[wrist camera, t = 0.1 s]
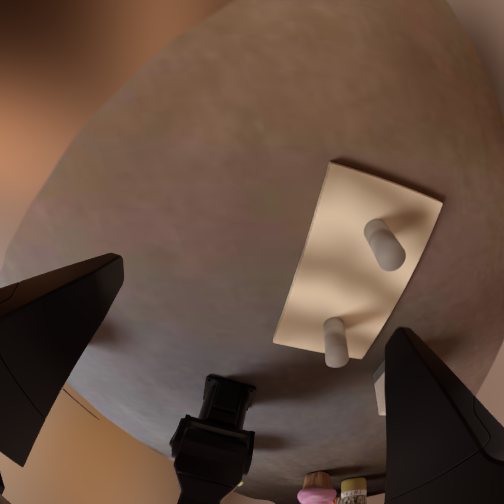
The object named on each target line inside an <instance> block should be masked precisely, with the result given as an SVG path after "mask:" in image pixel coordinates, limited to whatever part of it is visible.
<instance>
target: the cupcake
mask: <svg viewBox="0 0 504 504" xmlns="http://www.w3.org/2000/svg"><path fill="white" fill-rule="evenodd" d="M335 497H336V490H334V489H333V487H332V484H331V479H330V476H329V474H328V473H325V472H322V471H319V472H315V473H309V474H307V475H306V476H305V480H304V485H303V488H302V490H301V491H299V493H298V500H299V501H300V502H301V503H302V504H331V502H332V501H333V500H334V499H335Z"/></svg>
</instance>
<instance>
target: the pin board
mask: <svg viewBox="0 0 504 504" xmlns="http://www.w3.org/2000/svg"><path fill="white" fill-rule="evenodd" d="M442 205H443V203H441V202H440V201H439V200H437V199H435V198H432V197H430V196H427V195H425V194H423V193H420V192H418V191H415V190H413V189H410V188H408V187H405V186H402V185H400V184H397V183H394V182H392V181H389V180H386V179H383V178H381V177H378V176H375V175H372V174H369V173H366V172H363V171H360V170H357V169H354V168H351V167H347V166H344V165H341V164H338V163H334V162H331V161H329V164H328V168H327V172H326V175H325V179H324V182H323V186H322V189H321V193H320V196H319V200H318V203H317V206H316V210H315V213H314V217H313V220H312V223H311V226H310V230H309V233H308V236H307V239H306V242H305V246H304V249H303V252H302V255H301V258H300V261H299V264H298V267H297V270H296V273H295V276H294V279H293V282H292V285H291V288H290V291H289V294H288V297H287V300H286V303H285V306H284V309H283V312H282V314H281V317H280V320H279V323H278V326H277V328H276V331H275V334H274V338H273V343H277V344H282V345H286V346H291V347H296V348H301V349H306V350H311V351H316V352H321V353H325V362H326V364H327V365H328V366H329V367H333V368H338V367H342V366H344V365H346V364H347V363H348V361H349V357H350V358H357V359H362V358H363V357H364V355H365V354H366V352H367V351H368V349H369V348H370V346H371V345H372V343H373V342H374V340H375V338H376V337H377V335H378V334H379V332H380V330H381V329H382V327H383V326H384V324H385V322H386V321H387V319H388V317H389V316H390V314H391V312H392V310H393V309H394V307H395V305H396V303H397V302H398V300H399V298H400V296H401V294H402V293H403V291H404V289H405V287H406V285H407V283H408V281H409V279H410V277H411V275H412V273H413V271H414V269H415V267H416V265H417V263H418V261H419V259H420V257H421V255H422V253H423V250H424V248H425V246H426V244H427V241H428V239H429V237H430V235H431V232H432V230H433V227H434V225H435V223H436V220H437V218H438V215H439V213H440V210H441V207H442Z"/></svg>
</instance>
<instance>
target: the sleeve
mask: <svg viewBox="0 0 504 504" xmlns="http://www.w3.org/2000/svg"><path fill="white" fill-rule="evenodd" d="M373 379H374V385H375V391H376V398H377V404H378V411H379V415H386V409H385V391H384V380H385V359H384V361H383V362H382V363H381V365H380V366H379V367H378V369H377V370H376V371H375V372H374V374H373Z"/></svg>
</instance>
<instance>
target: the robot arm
mask: <svg viewBox="0 0 504 504" xmlns="http://www.w3.org/2000/svg"><path fill="white" fill-rule="evenodd" d="M123 281H124V268H123V258H122V257H121V256H120V255H117V254H114V253H108V254H105V255H101V256H98V257H95V258H91V259H88V260H85V261H82V262H78V263H75V264H72V265H69V266H66V267H62V268H59V269H56V270H53V271H50V272H47V273H44V274H41V275H38V276H35V277H32V278H29V279H26V280H23V281H20V283H19V282H17V283H14V284H11V285H9V286H6V287H3V288H0V452H2V453H3V454H4V455H6V456H7V457H9V458H10V459H11V460H12V461H14V462H15V463H17V464H18V465H20V466H21V467H23V466H24V465H25V463H26V460H27V457H28V456H29V453H30V451H31V449H32V446H33V444H34V442H35V440H36V438H37V436H38V434H39V432H40V429H41V427H42V426H43V424H44V422H45V418H46V417H47V415H48V413H49V411H50V410H51V408H52V406H53V404H54V402H55V400H56V398H57V396H58V394H59V393H60V391H61V389H62V387H63V385H64V384H65V382H66V380H67V378H68V377H69V375H70V373H71V372H72V370H73V368H74V366H75V365H76V363H77V361H78V360H79V358H80V356H81V355H82V353H83V351H84V350H85V348H86V347H87V345H88V343H89V342H90V340H91V339H92V337H93V336H94V334H95V332H96V331H97V329H98V328H99V326H100V325H101V323H102V321H103V320H104V318H105V316H106V314H107V312H108V311H109V309H110V307H111V305H112V303H113V301H114V299H115V297H116V295H117V293H118V292H119V290H120V288H121V286H122V284H123ZM255 391H256V388H255V387H253V386H249V385H244V384H240V383H236V382H232V381H228V380H224V379H220V378H217V377H213V376H207V377H206V382H205V389H204V396H203V400H204V402H203V405H202V408H201V411H200V414H199V417H198V418H195V417H191V416H190V415H187V414H186V416H185V418H182V419H181V420H180V423H179V425H178V428H177V430H176V432H175V433H174V435H173V437H172V439H171V440H170V443H169V445H170V446H171V448H172V457H173V458H175V461H174V473H175V477H176V481H177V484H178V487H179V489H180V492H181V494H180V497H179V500H178V503H177V504H220V502H221V501H222V500H223V499H225V498H226V497H227V496H228V495H229V494H230V493H231V492H233V491H234V489H235V488H236V487H237V486H238V485H239V483H240V482H241V480H242V476H246V475H247V474H248V471H249V468H250V465H251V461H252V455H253V446H254V436H255V432H254V431H246V430H242V429H243V424H244V419H245V415H246V411H247V410H248V408H249V406H250V403H251V401H252V398H253V396H254V394H255ZM384 391H385V409H386V437H387V460H386V487H385V502H384V504H504V427H503V426H502V425H501V424H500V423H499V422H498V421H497V420H496V419H495V418H494V417H493V415H491V413H489V411H488V410H487V409H486V408H485V407H484V406H483V405H482V404H481V402H480V401H479V400H478V399H477V398H476V397H475V396H474V395H473V394H472V392H471V391H470V390H469V389H468V388H467V387H466V386H465V385H464V384H463V382H462V381H461V380H460V379H459V378H458V377H457V376H456V375H455V374H454V373H453V372H452V371H451V370H450V368H449V367H448V366H447V365H446V364H445V363H444V362H443V361H442V360H441V359H440V358H439V357H438V356H437V355H436V354H435V353H434V352H433V351H432V350H431V349H430V348H429V347H428V346H427V345H426V344H425V343H424V342H423V341H422V340H421V339H420V338H419V337H418V336H417V335H416V334H415V333H414V332H413V331H412V330H411V329H410V328H408V327H402V326H399V327H398V328H397V329H396V330H395V331H394V333H393V335H392V336H391V338H390V339H389V341H388V342H387V344H386V346H385V380H384ZM4 488H5V487H4V484H3V480H2V477H1V473H0V504H11V503H10V502H8V501H7V500H6V499H5V498H4V497H3V496H2V493H3V491H4Z"/></svg>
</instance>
